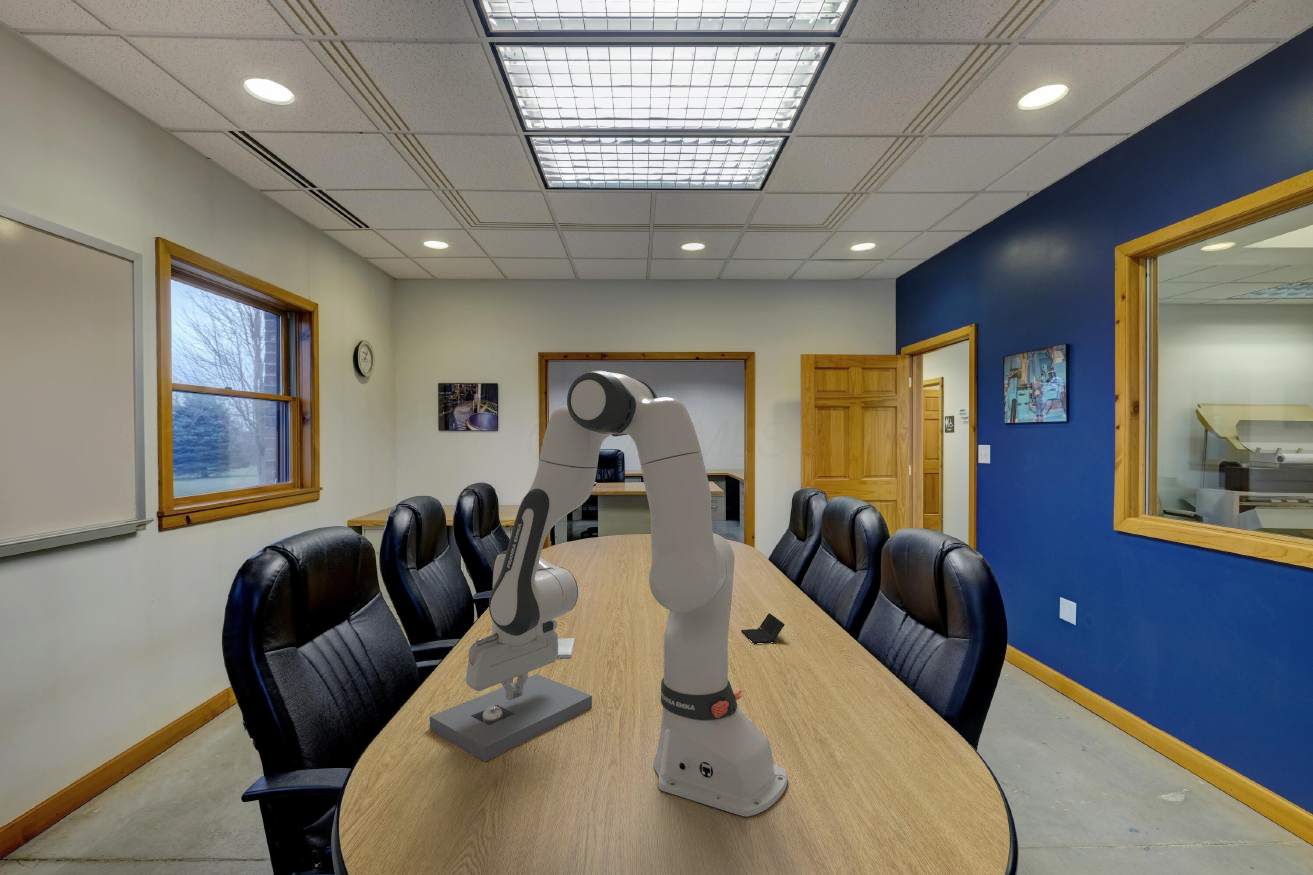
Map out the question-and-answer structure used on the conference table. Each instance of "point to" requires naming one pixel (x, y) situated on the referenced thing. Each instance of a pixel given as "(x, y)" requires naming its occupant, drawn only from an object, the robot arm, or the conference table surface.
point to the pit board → (510, 717)
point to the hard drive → (565, 648)
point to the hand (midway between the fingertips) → (514, 697)
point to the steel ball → (492, 715)
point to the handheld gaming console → (765, 630)
